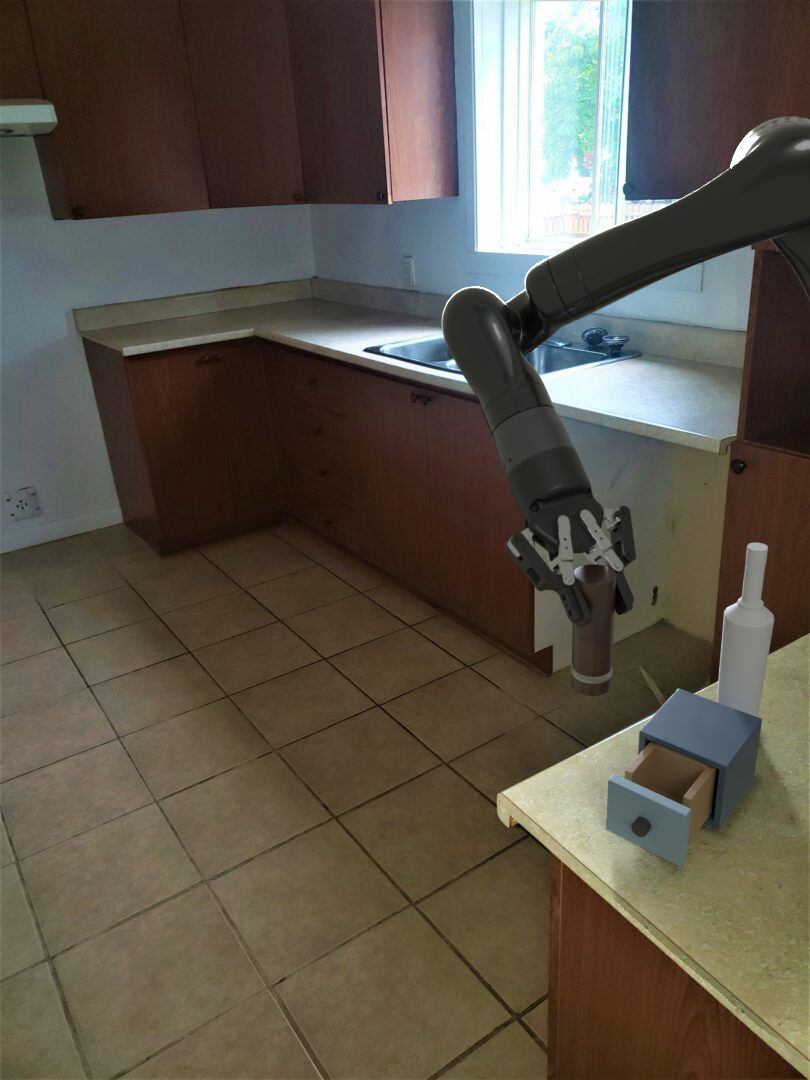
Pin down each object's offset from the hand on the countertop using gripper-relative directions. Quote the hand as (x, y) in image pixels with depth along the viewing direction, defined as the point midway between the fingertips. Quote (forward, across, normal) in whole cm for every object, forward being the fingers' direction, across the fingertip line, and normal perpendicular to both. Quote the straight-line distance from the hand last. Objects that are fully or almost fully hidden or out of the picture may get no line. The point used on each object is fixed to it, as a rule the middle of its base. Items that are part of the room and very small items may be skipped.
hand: (605, 617), depth 78 cm
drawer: (+21, +3, +12) cm, 24 cm away
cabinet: (+19, +11, +15) cm, 27 cm away
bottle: (+15, +21, +19) cm, 32 cm away
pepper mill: (+5, 0, +8) cm, 9 cm away
